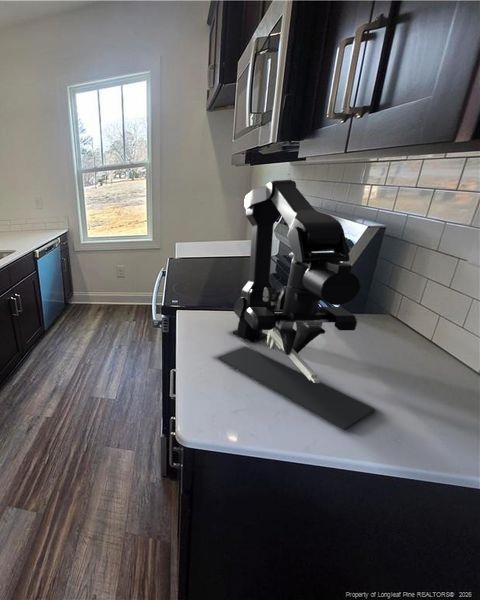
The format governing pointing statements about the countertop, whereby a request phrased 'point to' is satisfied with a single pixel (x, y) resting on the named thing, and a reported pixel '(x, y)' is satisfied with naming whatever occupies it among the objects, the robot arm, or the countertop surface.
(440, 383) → the countertop surface
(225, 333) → the countertop surface
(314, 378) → the caliper
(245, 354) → the mat
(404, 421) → the countertop surface
